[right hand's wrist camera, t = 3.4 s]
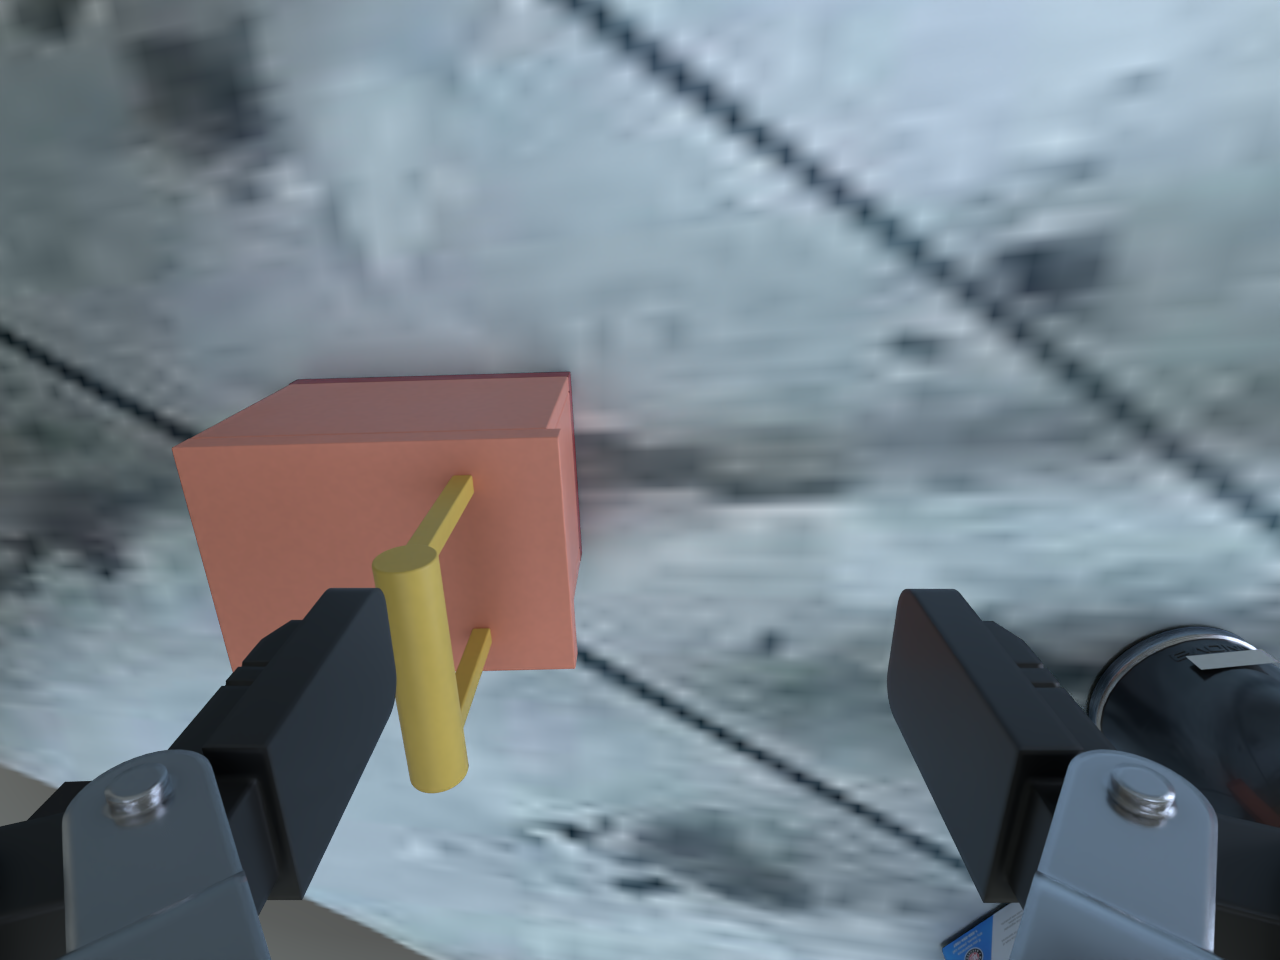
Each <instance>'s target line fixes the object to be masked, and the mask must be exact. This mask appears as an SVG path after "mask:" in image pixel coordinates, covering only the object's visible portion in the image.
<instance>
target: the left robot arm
mask: <svg viewBox="0 0 1280 960" xmlns="http://www.w3.org/2000/svg"><path fill="white" fill-rule="evenodd" d="M90 782H91V781H77V782H64V783H63V784H62V785H61V786H60V787H59V789H58V790H57V791H56V792H55V793H54V794H53V795H52V796H51V797H50V798H49V799H48V800H47V801H46V802H45V803H44V804H43V805H42V806H41V807H40V808H39V809H38V810H37V811H36V812H35V813H34V814H33V815H32V816H31V817H30V818H29V819H28V820H32V819H36V818H41V817H45V816H50V815H54V814H58V813H63V812H65V811H66V808H67V807H68V805H69V804H70V802H71V801H72V800H73V798H74V797H75V796H76V795H77V794H78V793H79V792H80V791H81V790H82V789H83V788H84V787H85V786H86V785H88V784H89V783H90Z"/></svg>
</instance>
